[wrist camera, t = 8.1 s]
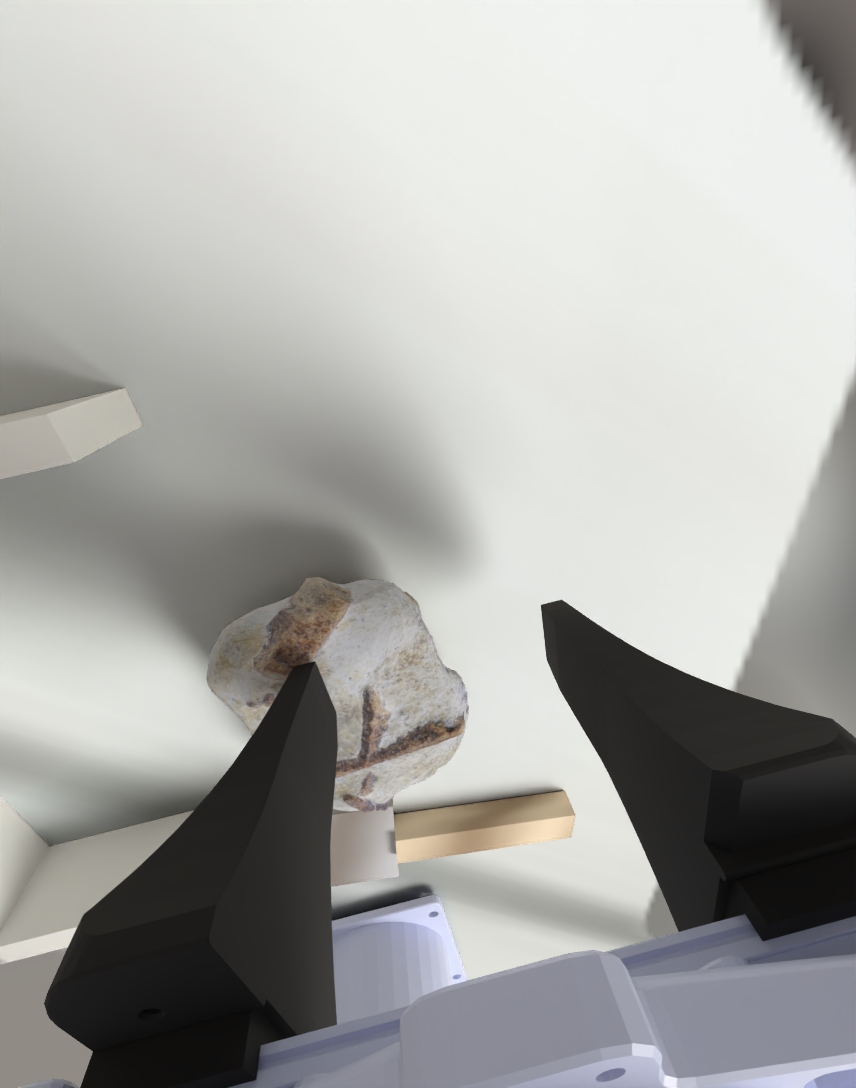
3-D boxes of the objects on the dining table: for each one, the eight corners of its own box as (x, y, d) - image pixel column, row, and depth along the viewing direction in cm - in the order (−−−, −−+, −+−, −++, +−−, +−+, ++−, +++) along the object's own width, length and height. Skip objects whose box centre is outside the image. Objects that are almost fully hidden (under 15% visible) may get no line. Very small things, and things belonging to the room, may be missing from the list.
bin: (320, 795, 20) (312, 884, 17) (39, 865, 20) (-21, 970, 17) (125, 387, 12) (45, 414, 9) (-344, 493, 12) (-591, 557, 9)
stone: (483, 713, 19) (508, 767, 17) (323, 798, 19) (327, 864, 17) (380, 527, 15) (396, 568, 12) (166, 637, 14) (142, 699, 12)
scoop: (568, 765, 21) (580, 789, 20) (557, 834, 24) (567, 859, 22) (297, 802, 20) (293, 829, 19) (312, 871, 22) (310, 899, 21)
